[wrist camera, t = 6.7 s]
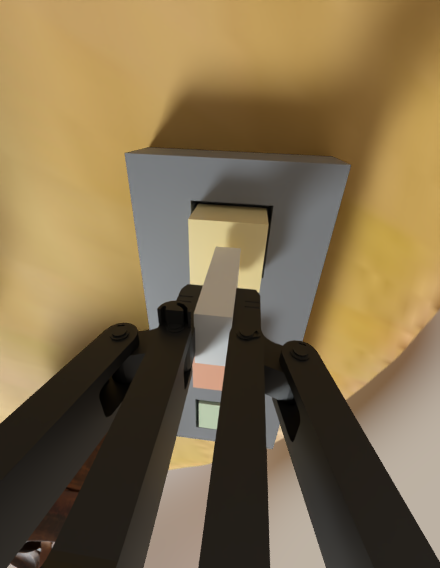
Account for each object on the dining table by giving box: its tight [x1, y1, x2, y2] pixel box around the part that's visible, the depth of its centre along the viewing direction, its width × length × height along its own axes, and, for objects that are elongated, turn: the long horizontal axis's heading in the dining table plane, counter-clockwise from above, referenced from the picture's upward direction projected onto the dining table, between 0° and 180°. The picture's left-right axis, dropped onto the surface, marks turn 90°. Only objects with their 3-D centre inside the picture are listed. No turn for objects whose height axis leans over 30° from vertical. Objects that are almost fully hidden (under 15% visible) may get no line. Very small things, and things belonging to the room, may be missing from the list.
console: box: [125, 147, 351, 449], centre depth 27 cm, size 33×14×4 cm, turn 178°
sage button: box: [199, 400, 220, 429], centre depth 32 cm, size 5×5×4 cm
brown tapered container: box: [9, 432, 108, 568], centre depth 34 cm, size 18×20×18 cm
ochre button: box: [188, 204, 269, 293], centre depth 18 cm, size 5×5×4 cm
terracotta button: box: [192, 356, 225, 391], centre depth 24 cm, size 5×5×4 cm
